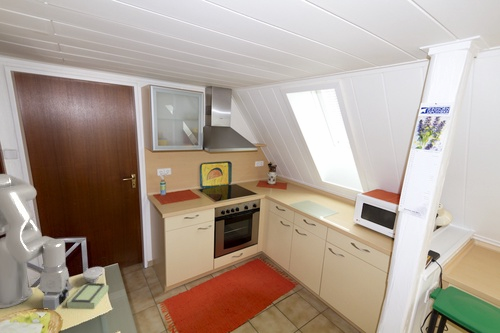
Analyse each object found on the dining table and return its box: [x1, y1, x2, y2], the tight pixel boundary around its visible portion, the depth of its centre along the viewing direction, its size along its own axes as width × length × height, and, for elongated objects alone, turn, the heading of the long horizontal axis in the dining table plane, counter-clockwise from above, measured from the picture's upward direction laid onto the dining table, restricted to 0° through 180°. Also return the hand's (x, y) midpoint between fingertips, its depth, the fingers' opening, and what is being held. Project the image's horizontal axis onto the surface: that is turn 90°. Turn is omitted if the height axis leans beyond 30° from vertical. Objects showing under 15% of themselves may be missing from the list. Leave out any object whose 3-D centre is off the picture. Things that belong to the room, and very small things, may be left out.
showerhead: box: [82, 266, 105, 283], centre depth 121 cm, size 9×7×10 cm
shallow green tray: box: [66, 282, 109, 309], centre depth 110 cm, size 12×12×4 cm
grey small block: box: [42, 287, 70, 311], centre depth 105 cm, size 5×9×6 cm, turn 5°
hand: (56, 301), depth 106 cm, fingers closed on grey small block, 5 cm apart
